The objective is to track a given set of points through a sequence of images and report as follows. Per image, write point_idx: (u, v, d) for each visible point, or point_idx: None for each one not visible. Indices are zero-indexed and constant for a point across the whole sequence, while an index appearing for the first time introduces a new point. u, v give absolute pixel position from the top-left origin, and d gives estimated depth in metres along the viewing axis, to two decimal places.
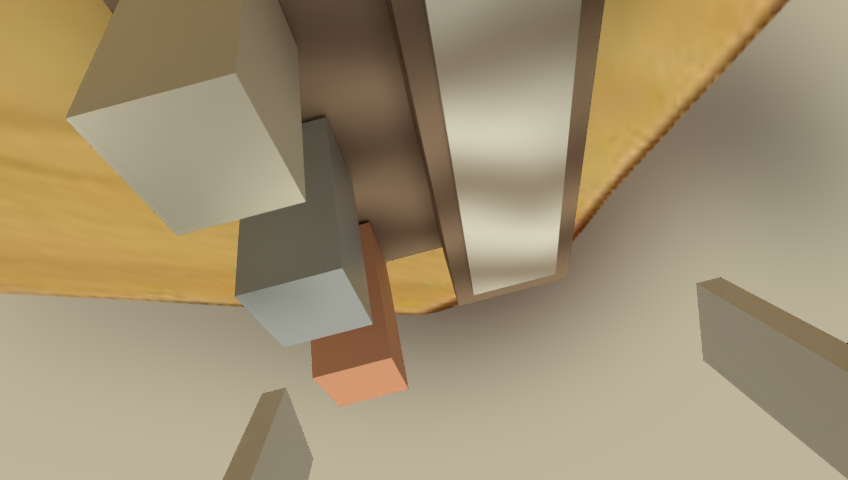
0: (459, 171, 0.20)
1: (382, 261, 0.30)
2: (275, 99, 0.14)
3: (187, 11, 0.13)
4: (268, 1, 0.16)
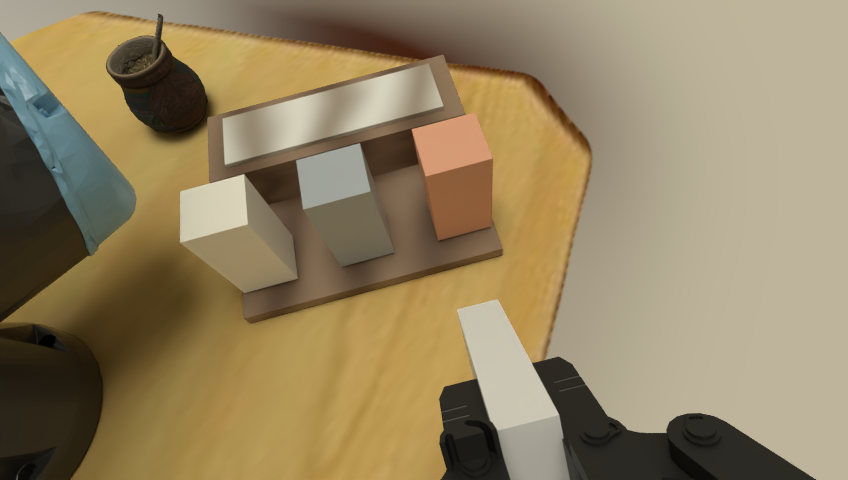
0: (318, 137, 0.38)
1: None
2: None
3: None
4: None
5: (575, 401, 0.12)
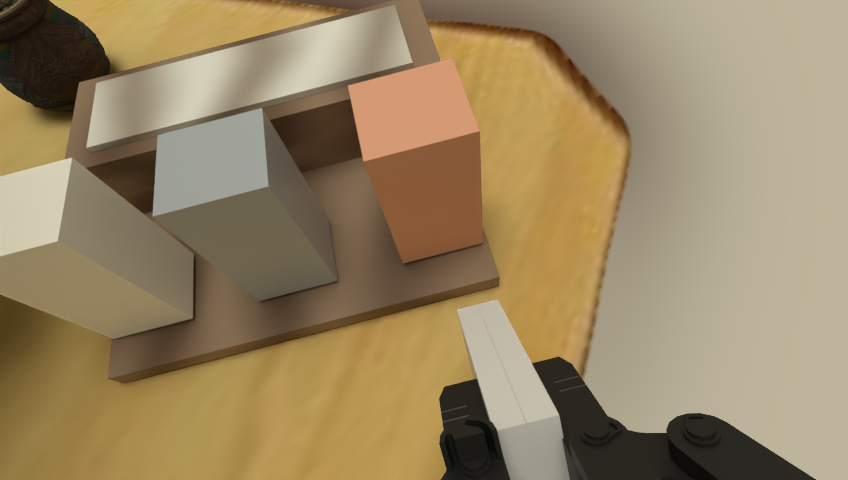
0: (225, 108, 0.25)
1: None
2: None
3: None
4: None
5: (575, 401, 0.12)
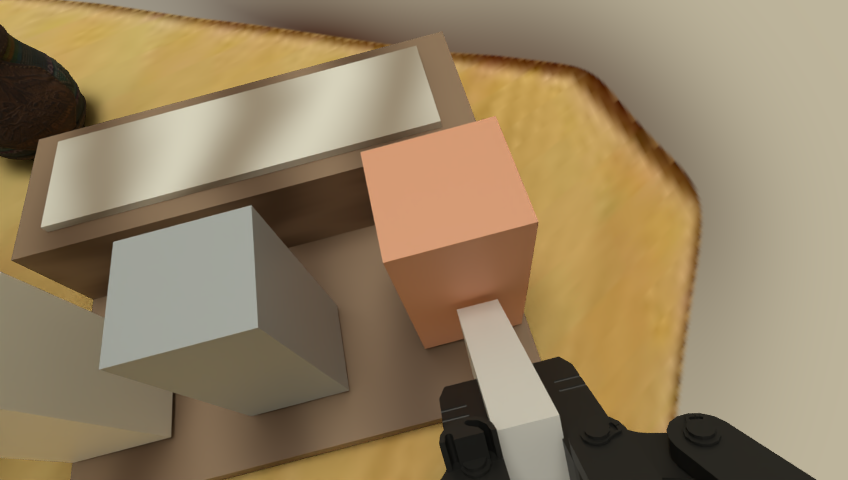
0: (211, 177, 0.21)
1: None
2: None
3: None
4: None
5: (576, 401, 0.12)
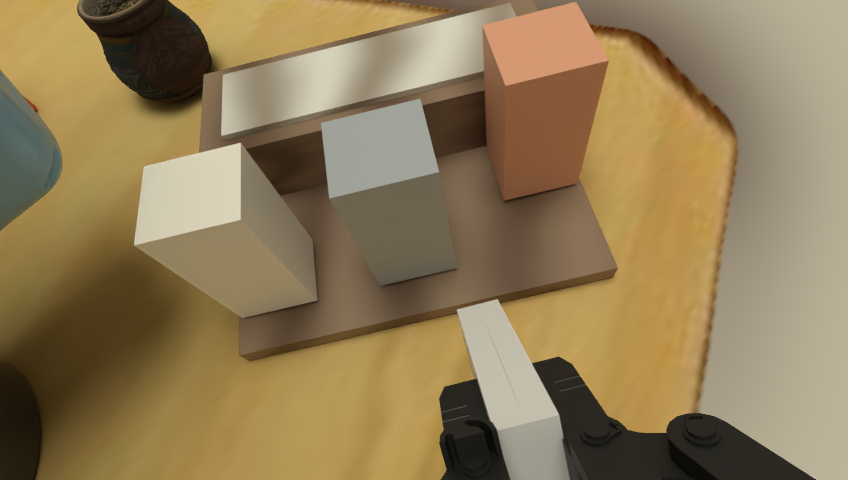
0: (353, 100, 0.27)
1: None
2: None
3: None
4: None
5: (575, 402, 0.12)
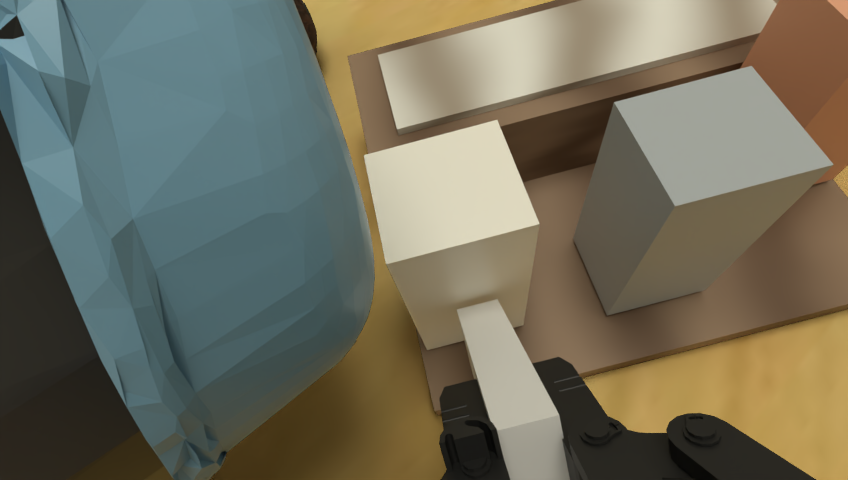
0: (564, 80, 0.21)
1: None
2: None
3: None
4: None
5: (575, 402, 0.12)
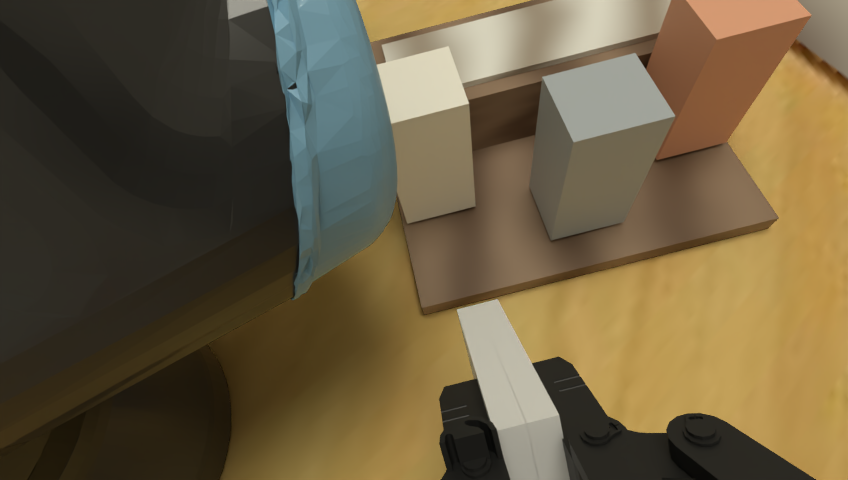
0: (521, 64, 0.28)
1: None
2: None
3: None
4: None
5: (575, 401, 0.12)
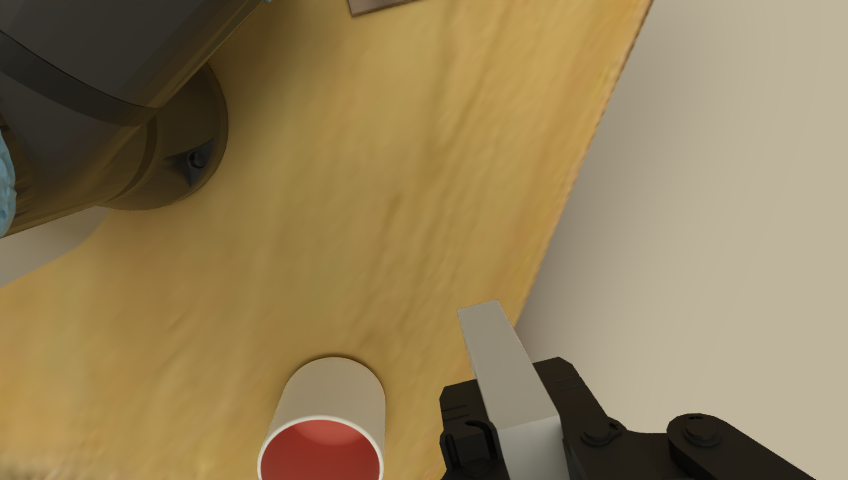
0: None
1: None
2: None
3: None
4: None
5: (575, 401, 0.12)
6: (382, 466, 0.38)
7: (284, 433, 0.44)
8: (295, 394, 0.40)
